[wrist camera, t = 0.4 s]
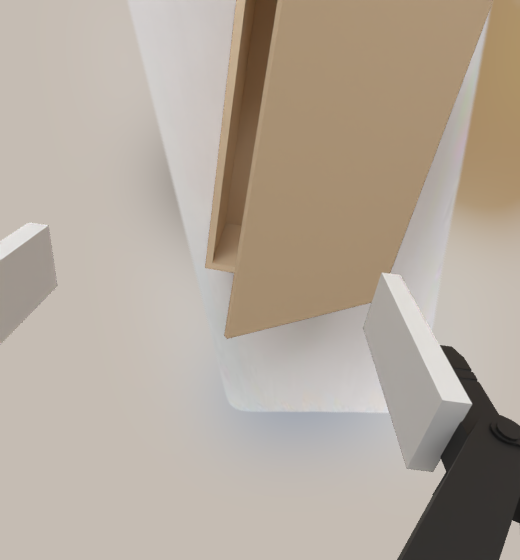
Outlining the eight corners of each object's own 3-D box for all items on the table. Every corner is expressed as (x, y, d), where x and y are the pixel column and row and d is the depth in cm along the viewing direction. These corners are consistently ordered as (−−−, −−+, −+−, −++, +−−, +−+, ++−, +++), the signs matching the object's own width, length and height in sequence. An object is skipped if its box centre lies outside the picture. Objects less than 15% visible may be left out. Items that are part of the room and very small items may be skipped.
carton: (254, -35, 34) (245, -75, 24) (433, 3, 34) (494, -22, 25) (220, 224, 45) (205, 267, 35) (355, 248, 46) (375, 297, 36)
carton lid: (298, -134, 16) (304, -136, 16) (495, -22, 25) (501, -23, 24) (224, 335, 27) (227, 338, 27) (376, 298, 36) (379, 300, 36)
